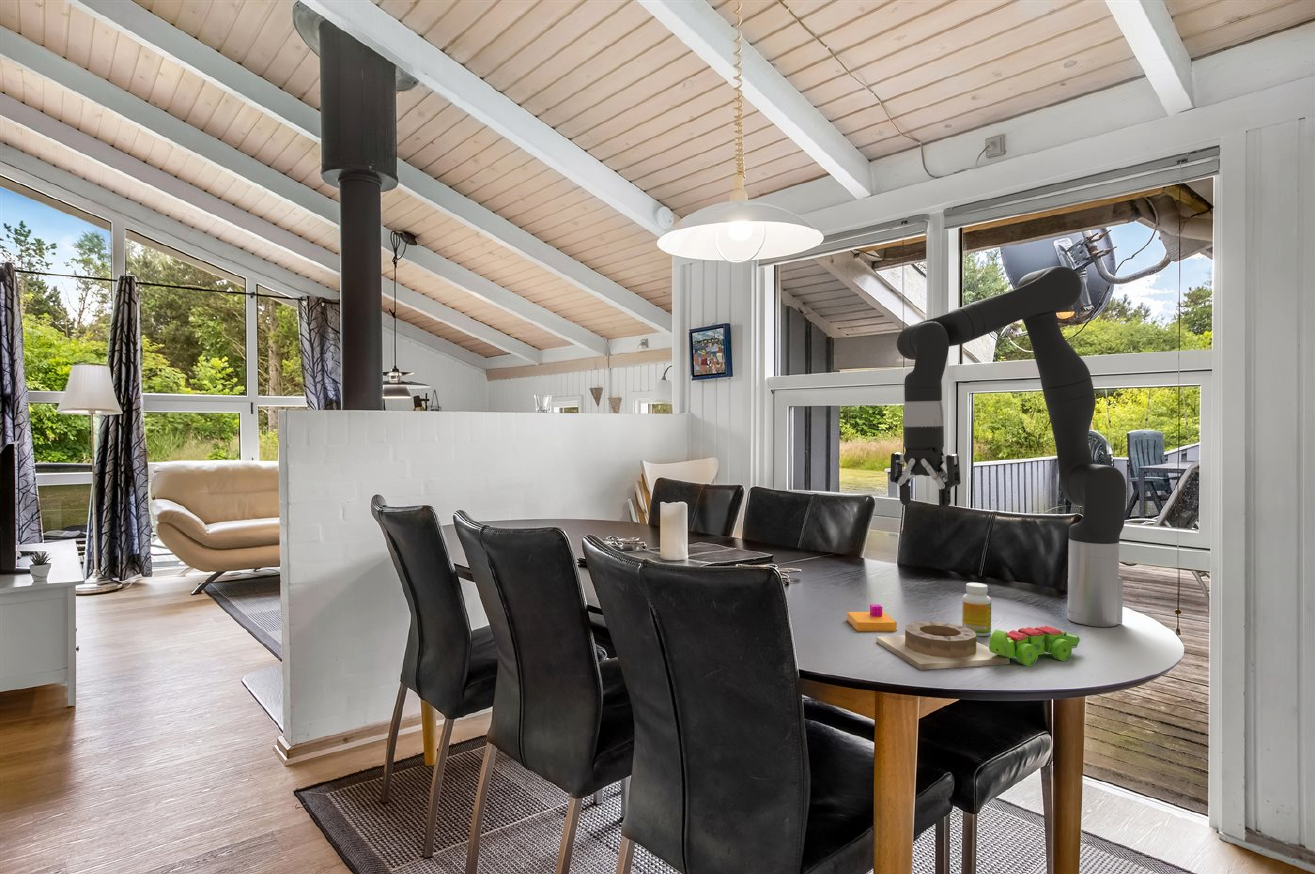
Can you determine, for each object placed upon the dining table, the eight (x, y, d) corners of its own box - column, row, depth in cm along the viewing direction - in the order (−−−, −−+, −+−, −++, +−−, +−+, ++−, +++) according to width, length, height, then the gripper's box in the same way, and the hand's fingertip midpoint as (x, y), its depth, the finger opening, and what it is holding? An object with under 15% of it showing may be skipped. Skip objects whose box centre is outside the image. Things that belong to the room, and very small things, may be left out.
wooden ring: (951, 635, 143) (951, 620, 143) (989, 655, 132) (990, 638, 132) (893, 638, 141) (893, 623, 141) (927, 659, 129) (927, 642, 129)
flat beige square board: (957, 637, 146) (957, 631, 146) (1009, 663, 130) (1009, 658, 130) (876, 641, 143) (876, 636, 143) (920, 669, 127) (920, 663, 127)
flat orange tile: (896, 632, 150) (896, 612, 150) (857, 633, 150) (857, 612, 150) (884, 621, 158) (884, 602, 158) (846, 622, 158) (847, 602, 158)
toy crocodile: (1058, 647, 140) (1059, 615, 140) (1090, 657, 134) (1090, 624, 134) (975, 658, 133) (976, 625, 133) (1005, 670, 127) (1005, 635, 127)
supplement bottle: (993, 637, 146) (994, 588, 145) (964, 635, 147) (965, 587, 146) (987, 629, 151) (988, 582, 151) (959, 628, 152) (959, 581, 152)
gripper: (967, 423, 144) (968, 507, 144) (904, 424, 155) (905, 501, 156) (944, 424, 139) (946, 511, 140) (881, 425, 151) (882, 504, 151)
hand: (924, 505), depth 148 cm, fingers open, 8 cm apart
